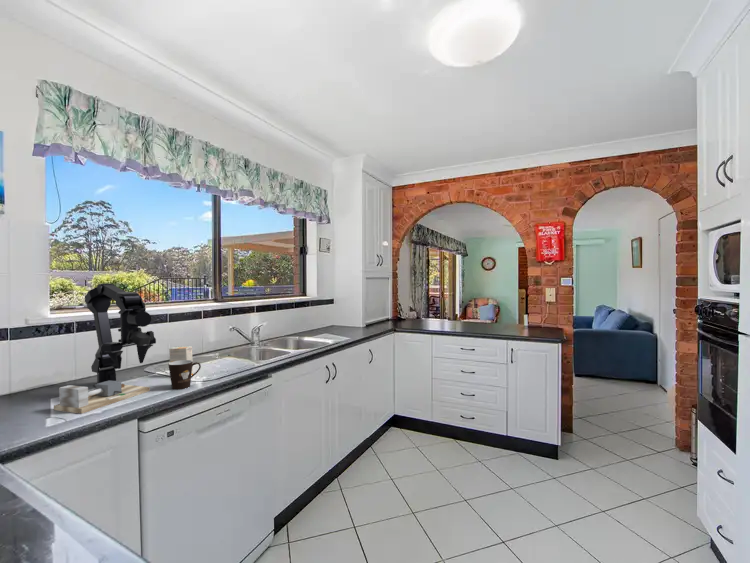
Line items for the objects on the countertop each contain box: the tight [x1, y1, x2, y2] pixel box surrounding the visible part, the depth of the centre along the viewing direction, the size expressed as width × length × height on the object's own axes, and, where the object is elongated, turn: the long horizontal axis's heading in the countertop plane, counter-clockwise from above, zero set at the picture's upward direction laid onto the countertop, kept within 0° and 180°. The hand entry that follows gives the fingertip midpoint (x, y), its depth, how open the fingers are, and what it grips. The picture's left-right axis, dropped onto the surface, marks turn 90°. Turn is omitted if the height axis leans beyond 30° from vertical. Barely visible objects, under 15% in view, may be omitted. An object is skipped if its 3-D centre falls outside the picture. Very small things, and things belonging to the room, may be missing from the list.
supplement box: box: [168, 345, 194, 375], centre depth 165 cm, size 8×5×13 cm, turn 84°
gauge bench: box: [53, 383, 151, 414], centre depth 134 cm, size 13×25×8 cm, turn 162°
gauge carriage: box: [88, 380, 122, 397], centre depth 132 cm, size 9×11×4 cm
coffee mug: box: [168, 360, 202, 391], centre depth 148 cm, size 12×9×10 cm
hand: (130, 365), depth 143 cm, fingers open, 9 cm apart
